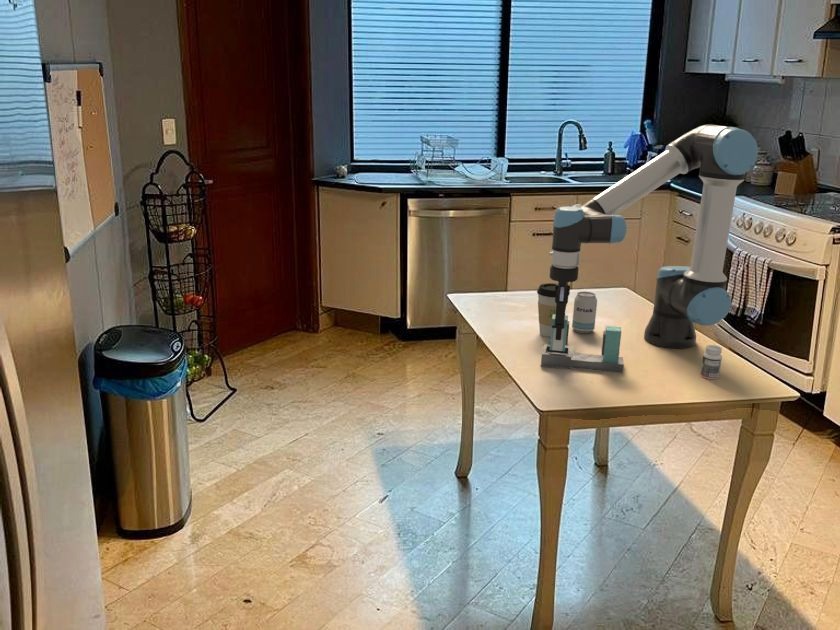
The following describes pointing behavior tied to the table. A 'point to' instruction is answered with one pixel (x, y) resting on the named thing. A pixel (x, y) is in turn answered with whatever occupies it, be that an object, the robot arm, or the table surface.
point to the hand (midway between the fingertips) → (557, 347)
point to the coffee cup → (546, 307)
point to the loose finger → (566, 331)
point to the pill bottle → (711, 362)
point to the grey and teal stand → (588, 355)
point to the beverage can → (584, 312)
